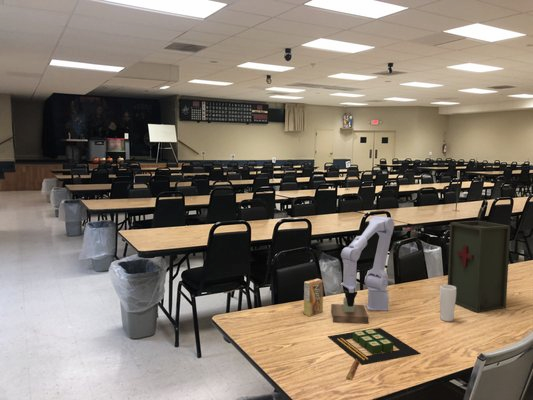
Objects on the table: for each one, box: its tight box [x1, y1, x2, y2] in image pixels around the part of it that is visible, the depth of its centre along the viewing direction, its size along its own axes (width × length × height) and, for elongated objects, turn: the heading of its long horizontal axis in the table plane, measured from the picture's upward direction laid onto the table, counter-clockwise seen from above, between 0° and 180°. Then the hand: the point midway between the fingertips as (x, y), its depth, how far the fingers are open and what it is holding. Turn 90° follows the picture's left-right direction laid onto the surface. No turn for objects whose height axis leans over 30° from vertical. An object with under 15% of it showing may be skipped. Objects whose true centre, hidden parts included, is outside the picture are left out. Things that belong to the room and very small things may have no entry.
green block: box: [343, 297, 355, 312], centre depth 191 cm, size 4×4×5 cm
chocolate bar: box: [345, 358, 360, 381], centre depth 142 cm, size 3×12×2 cm, turn 157°
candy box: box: [303, 278, 324, 317], centre depth 195 cm, size 9×4×15 cm, turn 129°
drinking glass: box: [439, 284, 456, 322], centre depth 187 cm, size 7×7×15 cm
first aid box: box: [447, 220, 511, 314], centre depth 206 cm, size 18×18×40 cm
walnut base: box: [330, 303, 369, 324], centre depth 191 cm, size 15×15×3 cm
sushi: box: [327, 327, 421, 366], centre depth 162 cm, size 25×25×4 cm
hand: (349, 303), depth 191 cm, fingers open, 7 cm apart
